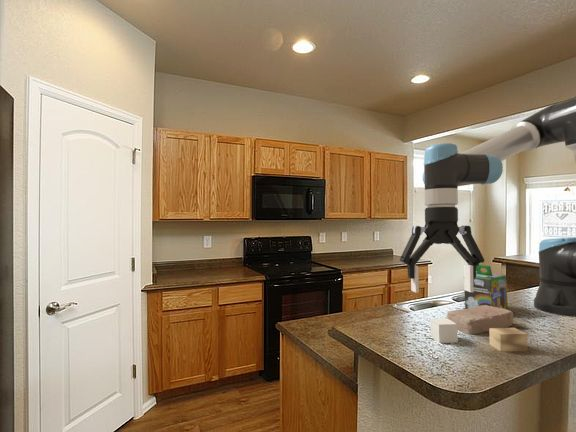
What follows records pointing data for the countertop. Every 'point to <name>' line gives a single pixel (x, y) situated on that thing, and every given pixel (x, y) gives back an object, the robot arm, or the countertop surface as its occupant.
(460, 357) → the countertop surface
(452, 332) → the beige cube
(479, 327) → the brick
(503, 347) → the oak block
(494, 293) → the chalk box
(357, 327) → the countertop surface
